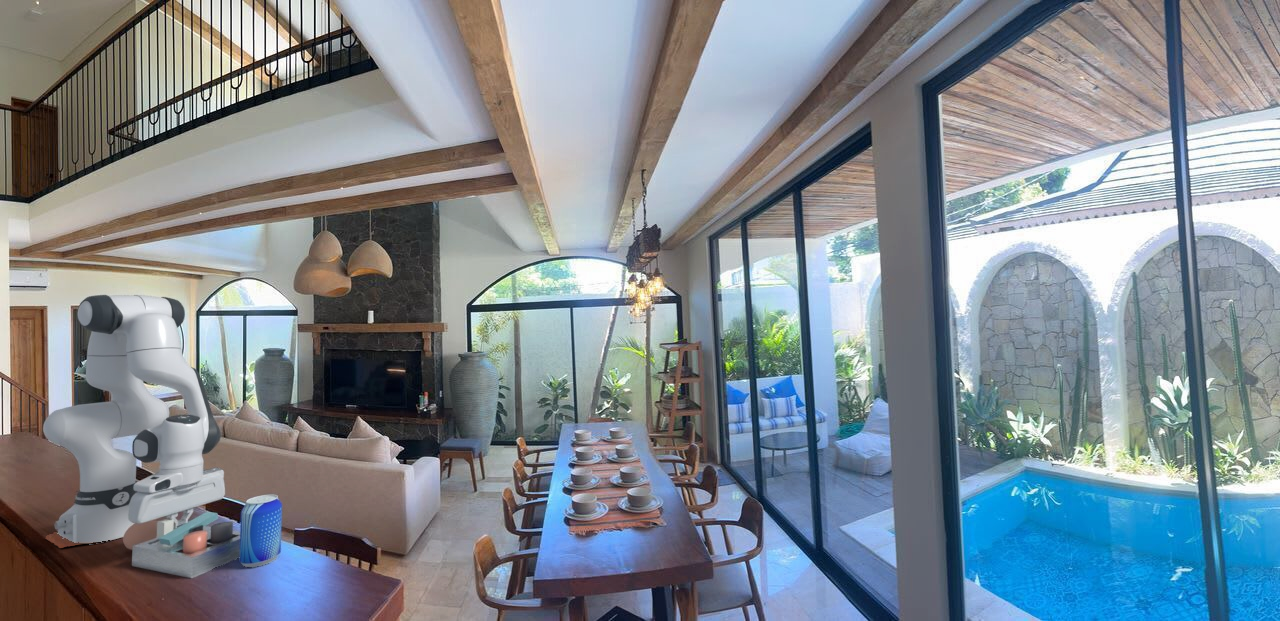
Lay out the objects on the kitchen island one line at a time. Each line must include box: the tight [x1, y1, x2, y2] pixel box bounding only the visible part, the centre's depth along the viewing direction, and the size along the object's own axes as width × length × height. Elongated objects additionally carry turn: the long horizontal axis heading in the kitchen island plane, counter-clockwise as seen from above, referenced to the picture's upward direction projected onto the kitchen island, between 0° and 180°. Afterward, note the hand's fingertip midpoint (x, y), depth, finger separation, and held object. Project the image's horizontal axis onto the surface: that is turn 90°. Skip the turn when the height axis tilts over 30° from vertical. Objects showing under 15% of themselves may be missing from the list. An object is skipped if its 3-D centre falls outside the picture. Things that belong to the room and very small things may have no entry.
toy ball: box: [122, 519, 159, 551], centre depth 131 cm, size 8×8×8 cm
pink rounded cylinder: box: [183, 531, 207, 555], centre depth 121 cm, size 4×4×6 cm
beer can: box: [238, 494, 283, 568], centre depth 125 cm, size 8×8×16 cm
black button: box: [210, 521, 234, 544], centre depth 127 cm, size 4×4×6 cm
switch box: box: [131, 524, 240, 579], centre depth 126 cm, size 22×14×8 cm, turn 74°
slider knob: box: [157, 518, 174, 539], centre depth 127 cm, size 3×2×4 cm
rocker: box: [159, 511, 220, 546], centre depth 126 cm, size 4×11×2 cm, turn 164°
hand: (179, 527), depth 130 cm, fingers closed
